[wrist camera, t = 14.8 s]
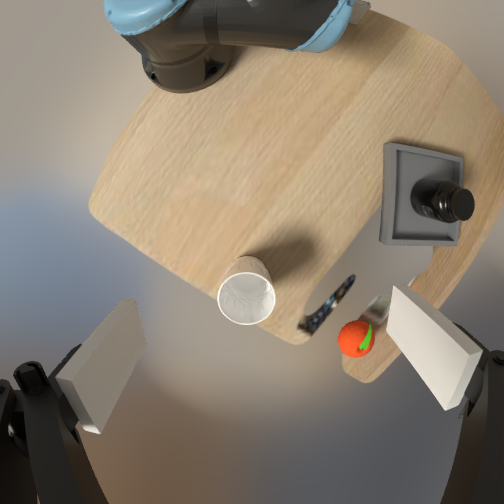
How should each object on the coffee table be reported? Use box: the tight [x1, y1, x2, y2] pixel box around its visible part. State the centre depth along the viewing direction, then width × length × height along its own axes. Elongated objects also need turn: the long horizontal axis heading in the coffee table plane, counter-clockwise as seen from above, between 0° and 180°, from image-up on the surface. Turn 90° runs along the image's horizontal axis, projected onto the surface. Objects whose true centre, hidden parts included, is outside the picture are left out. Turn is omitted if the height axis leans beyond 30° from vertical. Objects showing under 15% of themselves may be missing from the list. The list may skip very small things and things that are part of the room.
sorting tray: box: [379, 143, 463, 246], centre depth 43 cm, size 17×17×3 cm
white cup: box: [218, 256, 276, 325], centre depth 43 cm, size 8×8×10 cm
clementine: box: [338, 320, 375, 358], centre depth 47 cm, size 8×7×7 cm
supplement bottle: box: [410, 179, 475, 224], centre depth 37 cm, size 7×7×12 cm
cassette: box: [349, 0, 371, 25], centre depth 32 cm, size 12×2×8 cm, turn 86°
